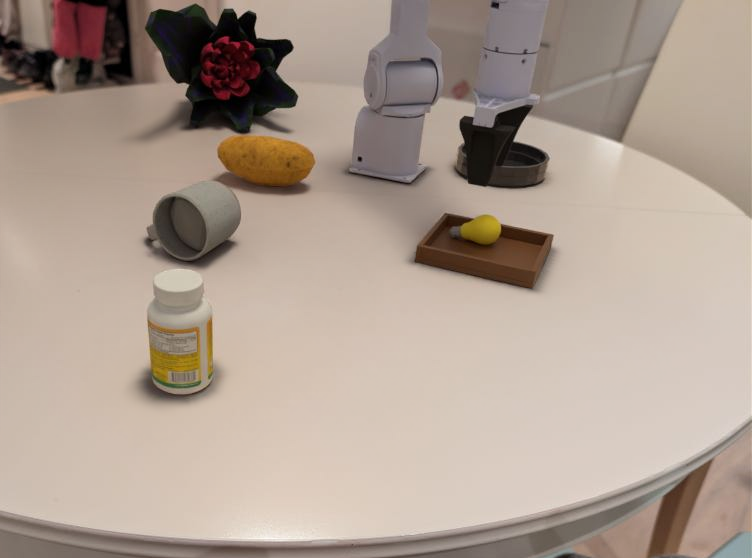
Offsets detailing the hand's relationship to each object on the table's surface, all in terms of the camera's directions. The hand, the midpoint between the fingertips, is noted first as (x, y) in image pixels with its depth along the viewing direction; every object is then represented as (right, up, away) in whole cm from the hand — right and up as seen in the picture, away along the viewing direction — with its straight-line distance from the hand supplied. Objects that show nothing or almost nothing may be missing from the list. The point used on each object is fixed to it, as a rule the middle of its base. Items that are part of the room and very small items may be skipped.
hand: (486, 174), depth 85 cm
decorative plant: (-32, +20, +44) cm, 58 cm away
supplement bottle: (-32, -23, -21) cm, 45 cm away
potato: (-26, +3, +19) cm, 32 cm away
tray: (0, -9, +1) cm, 9 cm away
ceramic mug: (-34, -8, +2) cm, 35 cm away
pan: (+9, +7, +25) cm, 28 cm away
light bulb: (-1, -7, +3) cm, 8 cm away
